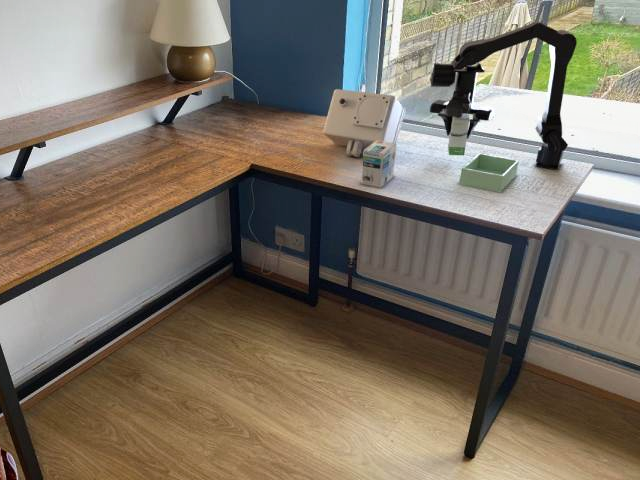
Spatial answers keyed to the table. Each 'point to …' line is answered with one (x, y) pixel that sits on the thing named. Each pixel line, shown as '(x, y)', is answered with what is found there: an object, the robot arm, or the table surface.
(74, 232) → the table surface
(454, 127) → the ink box
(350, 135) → the junction box
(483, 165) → the open green storage box
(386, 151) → the light bulb box
